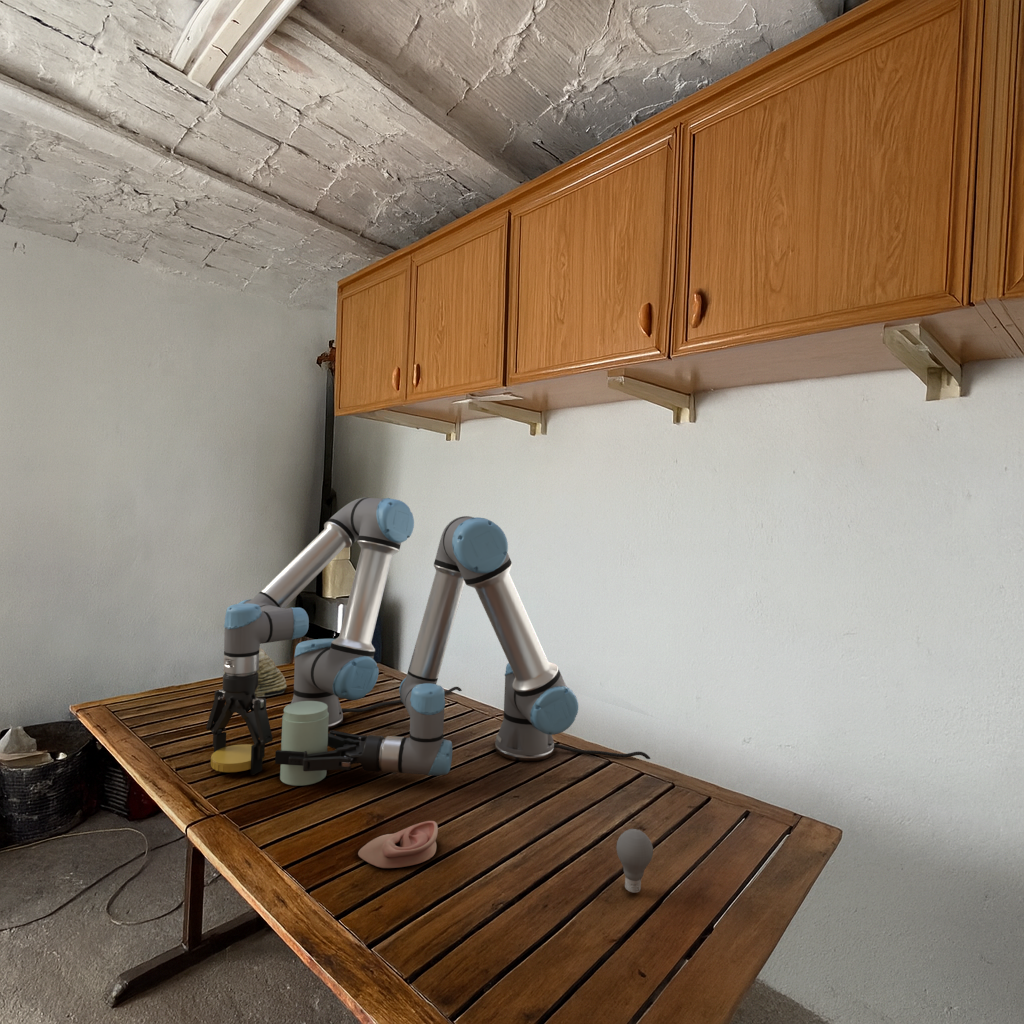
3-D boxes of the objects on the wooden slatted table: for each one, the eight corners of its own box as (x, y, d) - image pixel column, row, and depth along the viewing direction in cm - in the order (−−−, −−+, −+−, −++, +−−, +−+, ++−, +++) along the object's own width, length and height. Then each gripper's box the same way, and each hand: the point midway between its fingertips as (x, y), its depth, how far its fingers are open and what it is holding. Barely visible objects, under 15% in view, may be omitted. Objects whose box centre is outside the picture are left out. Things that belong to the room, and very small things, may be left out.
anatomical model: (350, 840, 110) (378, 809, 121) (349, 863, 110) (377, 829, 121) (423, 852, 107) (444, 819, 118) (422, 875, 107) (443, 840, 118)
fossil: (218, 695, 195) (220, 647, 195) (278, 685, 208) (279, 640, 207) (228, 703, 189) (230, 653, 188) (289, 692, 201) (290, 645, 201)
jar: (307, 762, 150) (310, 697, 150) (335, 774, 145) (338, 706, 144) (270, 776, 142) (273, 707, 142) (298, 790, 136) (301, 718, 136)
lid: (206, 774, 139) (206, 765, 139) (215, 753, 150) (215, 745, 149) (260, 770, 142) (260, 761, 142) (265, 750, 152) (266, 742, 152)
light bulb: (610, 879, 108) (613, 822, 108) (644, 879, 109) (647, 822, 109) (619, 902, 102) (622, 840, 102) (655, 901, 103) (658, 840, 103)
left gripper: (191, 668, 147) (187, 762, 147) (266, 684, 137) (262, 784, 137) (218, 661, 154) (215, 750, 154) (291, 676, 144) (288, 771, 144)
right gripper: (368, 793, 131) (263, 786, 132) (394, 750, 154) (304, 744, 155) (369, 757, 131) (264, 750, 132) (395, 719, 153) (305, 714, 155)
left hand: (237, 767), depth 146 cm, fingers closed on lid, 11 cm apart
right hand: (285, 747), depth 143 cm, fingers closed on jar, 10 cm apart
